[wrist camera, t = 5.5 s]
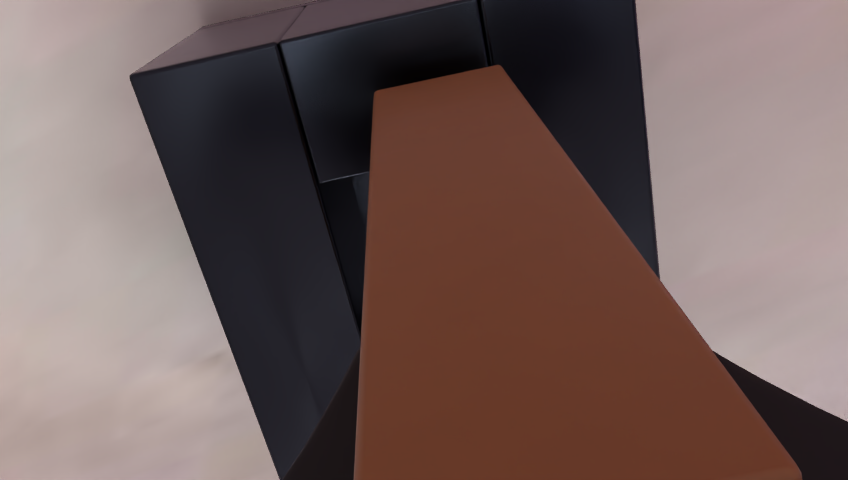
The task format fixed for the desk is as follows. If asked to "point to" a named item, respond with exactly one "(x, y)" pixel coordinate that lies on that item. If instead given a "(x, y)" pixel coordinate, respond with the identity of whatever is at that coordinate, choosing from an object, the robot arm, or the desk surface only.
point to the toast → (524, 314)
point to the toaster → (360, 158)
